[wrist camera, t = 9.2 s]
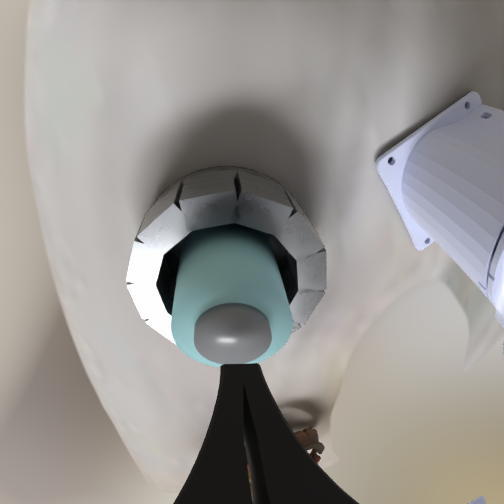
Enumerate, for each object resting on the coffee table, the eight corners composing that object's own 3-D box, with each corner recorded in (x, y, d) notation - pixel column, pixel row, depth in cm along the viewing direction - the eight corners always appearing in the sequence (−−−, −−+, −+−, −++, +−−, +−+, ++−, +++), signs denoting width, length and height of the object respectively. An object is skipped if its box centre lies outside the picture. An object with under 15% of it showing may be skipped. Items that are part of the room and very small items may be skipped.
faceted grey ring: (237, 128, 15) (244, 145, 12) (335, 252, 20) (357, 291, 17) (111, 241, 18) (91, 280, 15) (218, 329, 23) (220, 373, 19)
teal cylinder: (233, 194, 16) (243, 267, 11) (289, 258, 19) (317, 341, 13) (162, 251, 18) (143, 336, 12) (221, 303, 20) (226, 389, 14)
